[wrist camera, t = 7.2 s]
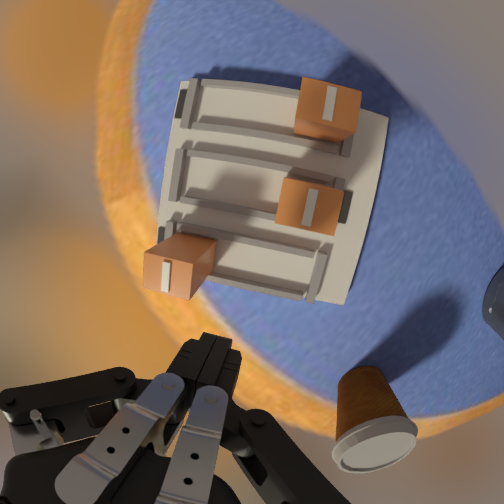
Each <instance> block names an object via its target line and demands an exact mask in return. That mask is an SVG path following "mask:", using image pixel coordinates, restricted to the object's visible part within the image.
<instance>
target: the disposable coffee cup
mask: <svg viewBox="0 0 504 504" xmlns="http://www.w3.org/2000/svg"><path fill="white" fill-rule="evenodd" d="M417 433H418V429H417V426H416V424H415V423H414V422H412V421H411V420H410V419H409V418H408V417H407V416H406V413H405V412H404V410H403V409H402V406H401V405H400V402H399V401H398V399H397V398H396V396H395V394H394V392H393V391H392V389H391V387H390V385H389V384H388V382H387V381H386V379H385V378H384V375H383V373H382V372H381V371H380V370H379V369H378V368H376V367H372V366H362V367H358V368H355V369H353V370H351V371H349V372H348V373H346V374H345V375H344V376H343V377H342V378H341V380H340V381H339V383H338V401H337V427H336V443H335V445H334V447H333V449H332V458H333V460H334V461H335V462H336V464H337V466H338V468H339V469H340V470H342V471H345V472H348V473H368V472H373V471H377V470H381V469H383V468H386V467H388V466H391V465H393V464H395V463H397V462H398V461H400V460H402V459H403V458H404V457H406V456H407V455H408V454H409V453H410V452H411V451H412V450H413V448H414V447H415V445H416V436H417Z"/></svg>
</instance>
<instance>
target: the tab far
mask: <svg viewBox="0 0 504 504" xmlns="http://www.w3.org/2000/svg"><path fill="white" fill-rule="evenodd" d="M216 245H217V240H214V239H209V238H205V237H200V236H195V235H190V234H185V233H181V232H178V233H176V234H174V235H172V236H171V237H169V238H167V239H165V240H164V241H162V242H160V243H159V244H157V245H155V246H154V247H152V248H150V249H149V250H147V251H145V252H144V269H143V288H146V289H149V290H153V291H156V292H160V293H163V294H167V295H170V296H174V297H178V298H181V299H185V300H190V299H191V298H192V296H193V295H194V294H195V292H196V291H197V290H198V288H199V287H200V286H201V284H202V283H203V282H204V281H205V279H206V278H207V277H208V275H209V274H210V273H211V271H212V270H213V266H214V259H215V252H216Z"/></svg>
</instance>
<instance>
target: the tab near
mask: <svg viewBox="0 0 504 504" xmlns="http://www.w3.org/2000/svg"><path fill="white" fill-rule="evenodd" d="M361 96H362V92H361V91H358V90H355V89H351V88H348V87H344V86H340V85H336V84H332V83H328V82H324V81H320V80H315V79H310V78H305V77H302V82H301V88H300V93H299V99H298V104H297V110H296V115H295V122H294V131H293V133H294V134H299V135H304V136H308V137H313V138H317V139H322V140H326V141H330V142H334V143H339V142H341V141H342V140H344V139H346V138H348V137H349V136H351V135H353V134H354V133H356V129H357V123H358V117H359V110H360V103H361Z"/></svg>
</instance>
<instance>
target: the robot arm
mask: <svg viewBox="0 0 504 504" xmlns="http://www.w3.org/2000/svg"><path fill="white" fill-rule="evenodd" d="M483 317H484V320H485V321H486V323H487V324H488V325H489V326H490V327H491V328H492V329H493V330H494V331H495V332H496V333H497V334H498V335H499V336H500V337H501V338H502V339H503V340H504V267H503V268H502V269H501V270H500V271H499V272H498V273H497V274H496V275H495V277H494V278H493V280H492V281H491V283H490V285H489V287H488V289H487V291H486V294H485V297H484V302H483ZM231 346H232V339H229V338H225V337H221V336H217V335H213V334H209V333H206V332H203V334H202V335H201V337H200V339H199V340H195V339H190V340H188V341H187V342H185V343H184V344H183V346H182V347H181V349H180V350H179V352H178V354H177V355H176V357H175V358H174V360H173V361H172V363H171V365H170V366H169V368H168V369H167V371H166V373H162V374H159V375H157V376H156V377H155V378H154V379H153V380H146V379H137V378H135V375H134V373H133V372H132V371H131V370H129V369H127V368H124V367H115V368H111V369H107V370H103V371H98V372H94V373H90V374H85V375H81V376H76V377H71V378H67V379H62V380H57V381H51V382H46V383H41V384H35V385H29V386H22V387H16V388H9V389H5V390H3V391H2V392H1V393H0V410H1V411H2V413H3V414H4V416H5V419H6V420H7V422H8V423H9V428H10V433H11V438H12V442H13V447H14V451H15V455H16V456H15V457H13V458H12V459H11V460H10V461H9V462H8V463H7V465H6V468H5V473H4V482H3V488H2V491H1V494H0V504H241V502H240V501H239V499H238V497H237V496H236V494H235V493H234V491H233V490H232V488H231V487H230V486H229V485H228V484H227V483H226V482H225V481H223V480H222V479H221V478H219V477H218V476H216V475H215V474H214V469H215V464H216V460H217V455H218V449H219V445H220V446H222V447H224V448H226V449H228V450H229V451H231V452H232V455H233V457H234V459H235V460H236V461H237V463H238V465H239V466H240V468H241V469H242V471H243V472H244V474H245V475H246V477H247V478H248V479H249V481H250V482H251V484H252V485H253V486H254V488H255V489H256V491H257V492H258V494H259V495H260V496H261V497H262V499H263V500H264V502H265V503H266V504H351V503H350V502H349V501H348V500H347V499H346V498H345V497H344V496H343V495H342V494H341V493H340V492H339V491H338V490H337V489H336V488H335V487H334V486H333V485H332V484H331V483H330V482H329V481H328V480H327V479H326V478H325V477H324V475H323V474H322V473H321V472H320V471H319V470H318V469H317V468H316V467H315V466H314V465H313V464H312V462H311V461H310V460H309V459H308V458H307V457H306V456H305V454H304V453H303V452H302V451H301V450H300V449H299V448H298V447H297V445H296V444H295V443H294V442H293V441H292V439H291V438H290V437H289V436H288V435H287V433H286V432H285V431H284V430H283V429H282V427H281V426H280V425H279V424H278V422H277V421H276V420H275V419H274V417H273V416H272V415H271V414H270V413H268V412H267V411H264V410H261V409H251V410H248V411H246V410H244V409H242V408H240V407H239V406H237V405H236V404H235V403H234V401H233V400H232V396H233V392H234V389H235V386H236V382H237V379H238V375H239V370H240V365H241V360H242V357H241V353H240V351H237V350H233V349H231ZM108 401H110V402H108ZM104 402H106V403H104ZM100 403H103V404H100ZM96 404H99V405H96ZM92 405H95V406H92ZM89 406H91V407H89ZM187 411H188V412H189V415H188V419H187V421H186V424H185V426H183V427H182V429H181V431H180V434H179V437H178V440H177V443H176V446H175V449H174V452H173V455H172V458H170V457H166V453H167V450H168V448H169V447H170V445H171V443H172V442H173V440H174V438H175V436H176V435H177V433H178V431H179V429H180V428H181V426H182V424H183V421H184V417H185V415H186V413H187ZM98 434H99V435H98ZM95 435H98V436H97V437H91V436H95ZM87 437H91V438H88V439H84V440H80V441H77V442H73V443H69V444H65V445H63V443H66V442H70V441H74V440H79V439H83V438H87Z"/></svg>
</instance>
